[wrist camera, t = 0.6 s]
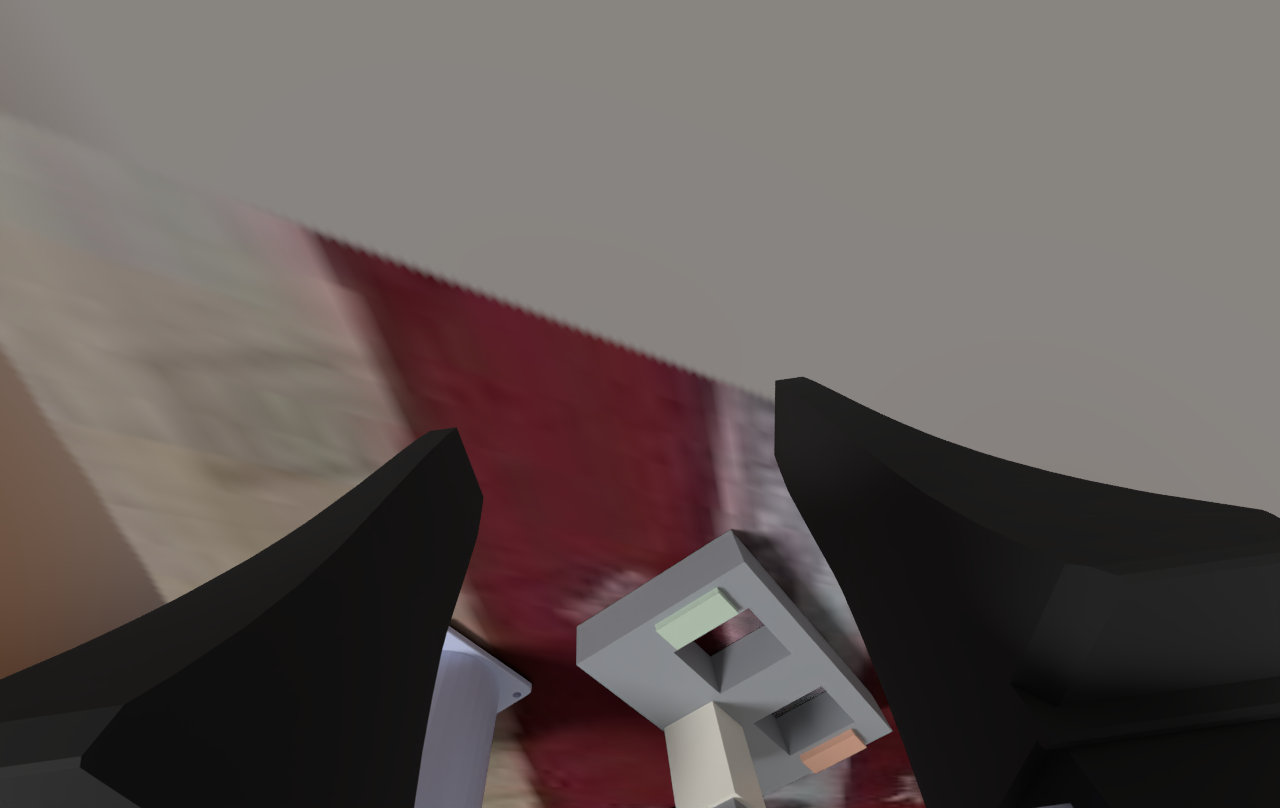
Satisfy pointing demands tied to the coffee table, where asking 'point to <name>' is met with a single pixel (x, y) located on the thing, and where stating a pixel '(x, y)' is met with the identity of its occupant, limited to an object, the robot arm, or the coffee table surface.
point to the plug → (711, 762)
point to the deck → (732, 663)
